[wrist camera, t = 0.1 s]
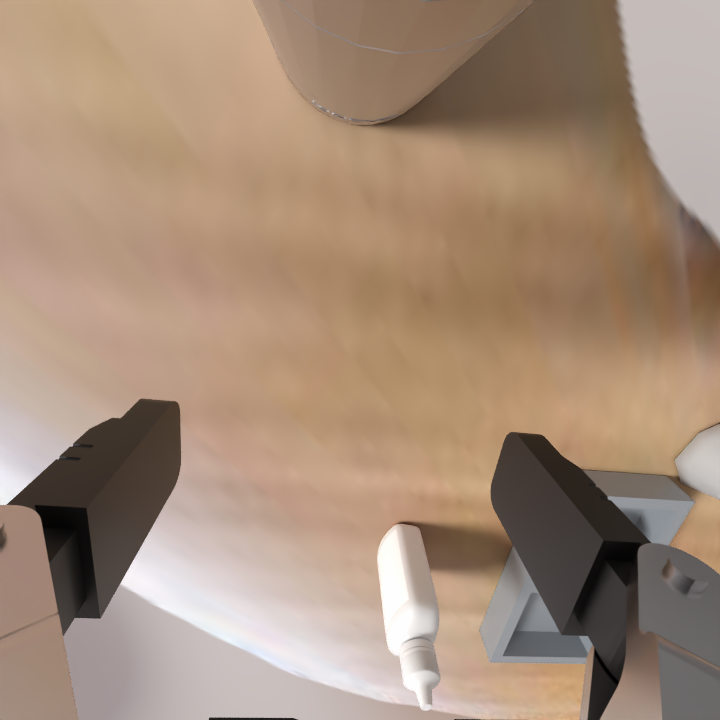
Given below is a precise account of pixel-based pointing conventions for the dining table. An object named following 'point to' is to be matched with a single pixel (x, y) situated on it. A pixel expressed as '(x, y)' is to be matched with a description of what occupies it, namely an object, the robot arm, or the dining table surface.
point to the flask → (702, 462)
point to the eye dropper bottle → (410, 609)
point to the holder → (522, 600)
